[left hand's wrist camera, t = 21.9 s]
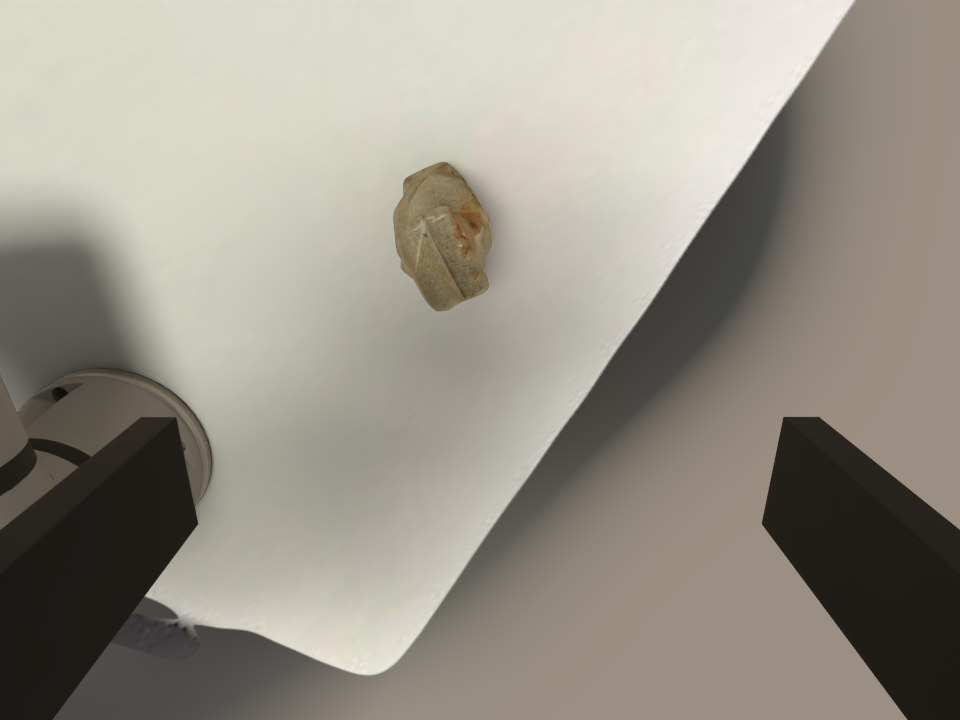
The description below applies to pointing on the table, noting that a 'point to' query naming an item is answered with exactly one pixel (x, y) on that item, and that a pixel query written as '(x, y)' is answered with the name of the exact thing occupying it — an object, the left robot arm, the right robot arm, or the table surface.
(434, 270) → the sculpture
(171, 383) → the table surface
